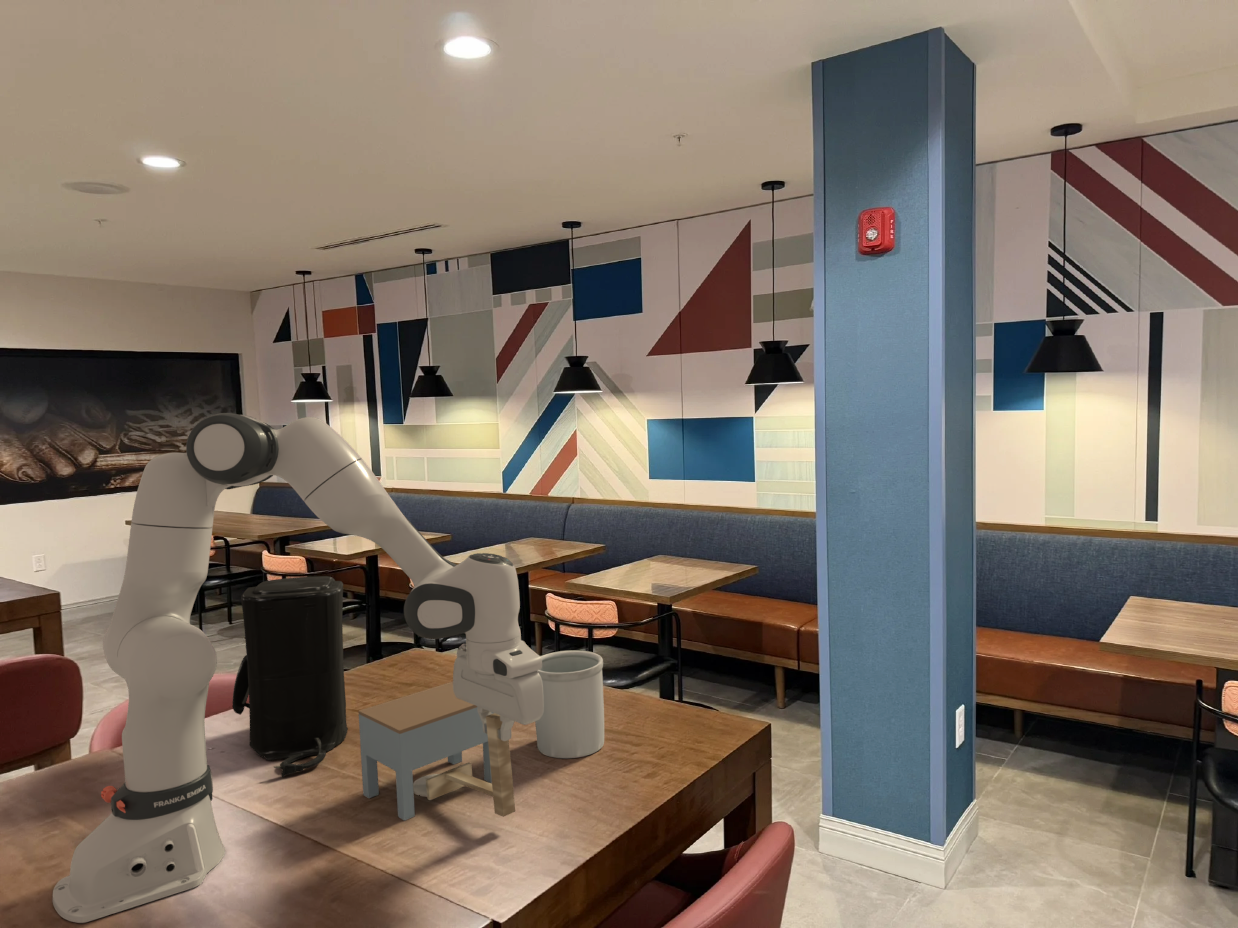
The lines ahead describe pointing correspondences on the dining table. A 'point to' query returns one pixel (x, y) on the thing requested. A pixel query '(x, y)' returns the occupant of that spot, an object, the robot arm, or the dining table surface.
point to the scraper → (463, 777)
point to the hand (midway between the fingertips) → (497, 735)
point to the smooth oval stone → (421, 785)
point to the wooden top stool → (417, 738)
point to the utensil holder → (571, 704)
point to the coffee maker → (293, 669)
